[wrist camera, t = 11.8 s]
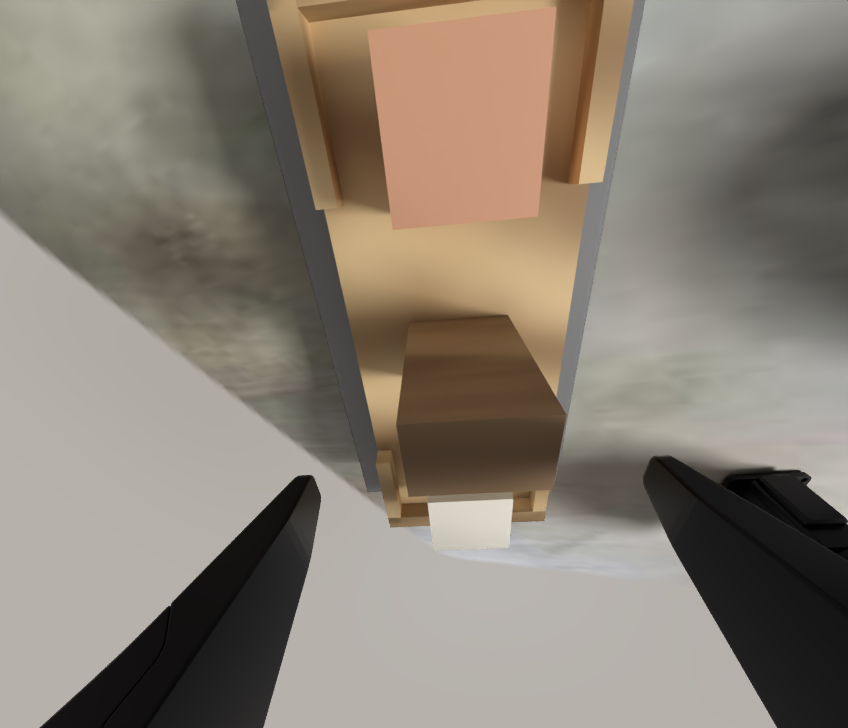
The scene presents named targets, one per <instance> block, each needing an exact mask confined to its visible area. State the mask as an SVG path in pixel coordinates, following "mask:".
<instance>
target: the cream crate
mask: <svg viewBox="0 0 848 728" xmlns="http://www.w3.org/2000/svg"><path fill="white" fill-rule="evenodd" d="M427 503H428V511H429V519H430V527H431V536H432V544H433V550H434V551H435V550H461V549H488V548H509V542H510V531H511V520H512V509H513V496H512V492H502V493H481V494H460V495H440V496H427Z"/></svg>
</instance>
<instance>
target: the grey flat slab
mask: <svg viewBox="0 0 848 728" xmlns="http://www.w3.org/2000/svg"><path fill="white" fill-rule="evenodd" d="M236 3H237V7H238V11H239V15H240V18H241V22H242V26H243V29H244V33H245V37H246V41H247V44H248V48H249V52H250V55H251V59H252V63H253V67H254V70H255V74H256V78H257V82H258V85H259V89H260V93H261V96H262V100H263V104H264V108H265V111H266V115H267V119H268V122H269V126H270V130H271V134H272V137H273V141H274V145H275V148H276V152H277V156H278V160H279V163H280V167H281V171H282V175H283V178H284V182H285V186H286V189H287V193H288V197H289V201H290V204H291V208H292V212H293V215H294V219H295V223H296V227H297V230H298V234H299V238H300V241H301V245H302V249H303V253H304V256H305V260H306V264H307V268H308V271H309V275H310V279H311V282H312V286H313V290H314V294H315V297H316V301H317V305H318V308H319V312H320V316H321V320H322V323H323V327H324V331H325V334H326V338H327V342H328V346H329V349H330V353H331V357H332V361H333V364H334V368H335V372H336V375H337V379H338V383H339V387H340V390H341V394H342V398H343V401H344V405H345V409H346V413H347V416H348V420H349V424H350V427H351V431H352V435H353V439H354V442H355V446H356V450H357V454H358V457H359V461H360V465H361V468H362V472H363V476H364V480H365V483H366V487H367V491H368V492H378V491H382V489H381V485H380V481H379V476H378V472H377V468H376V459H377V454H378V449H377V444H376V440H375V435H374V431H373V426H372V422H371V417H370V413H369V408H368V404H367V399H366V395H365V390H364V386H363V381H362V377H361V372H360V368H359V364H358V359H357V355H356V350H355V346H354V341H353V337H352V332H351V328H350V323H349V319H348V314H347V310H346V305H345V301H344V296H343V292H342V287H341V283H340V278H339V274H338V269H337V265H336V260H335V256H334V252H333V247H332V243H331V238H330V234H329V229H328V225H327V220H326V216H325V211H324V209H321V210H316V209H315V204H314V200H313V196H312V192H311V188H310V183H309V179H308V175H307V171H306V166H305V162H304V158H303V154H302V149H301V145H300V141H299V137H298V132H297V128H296V124H295V120H294V115H293V111H292V107H291V103H290V98H289V94H288V90H287V86H286V81H285V77H284V73H283V69H282V64H281V60H280V56H279V52H278V47H277V43H276V39H275V35H274V30H273V26H272V22H271V18H270V13H269V9H268V5H267V1H266V0H236ZM644 4H645V0H634V4H633V10H632V16H631V21H630V27H629V33H628V39H627V44H626V50H625V56H624V62H623V68H622V73H621V79H620V85H619V91H618V97H617V102H616V108H615V114H614V120H613V125H612V131H611V137H610V143H609V149H608V154H607V160H606V166H605V172H604V177H603V182H597V183H589V190H588V196H587V202H586V209H585V215H584V222H583V228H582V235H581V241H580V248H579V254H578V261H577V267H576V274H575V280H574V286H573V293H572V299H571V306H570V312H569V319H568V325H567V332H566V338H565V345H564V351H563V357H562V364H561V370H560V377H559V383H558V390H557V396H556V397H557V399H558V401H559V403H560V404H561V406H562V408H563V409H564V411H565V413H566V414H567V415H566V421H565V426H564V432H563V437H562V443H561V448H560V454H559V459H558V465H557V470H556V476H555V481H554V483H555V482H556V477H557V472H558V466H559V461H560V455H561V450H562V445H563V439H564V434H565V429H566V423H567V418H568V412H569V407H570V402H571V396H572V391H573V386H574V380H575V375H576V369H577V364H578V359H579V353H580V348H581V343H582V337H583V332H584V326H585V321H586V316H587V310H588V305H589V299H590V294H591V289H592V283H593V278H594V273H595V267H596V262H597V256H598V251H599V246H600V240H601V235H602V230H603V224H604V219H605V213H606V208H607V203H608V197H609V192H610V187H611V181H612V176H613V170H614V165H615V160H616V154H617V149H618V144H619V138H620V133H621V127H622V122H623V117H624V111H625V106H626V101H627V95H628V90H629V84H630V79H631V74H632V68H633V63H634V58H635V52H636V47H637V41H638V36H639V31H640V25H641V20H642V15H643V9H644Z"/></svg>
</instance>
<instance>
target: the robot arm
mask: <svg viewBox="0 0 848 728" xmlns="http://www.w3.org/2000/svg"><path fill="white" fill-rule="evenodd" d="M810 480H811V477H810V476H809V475H808V474H807V473H805V472H795V473H774V474H754V475H734V476H730V477H728V478H726V479H725V481H724V483H723V484H722V486H721V485H719V484H718V483H716V482H714V481H713V480H711V479H709V478H708V477H706V476H704V475H703V474H701V473H699V472H698V471H696V470H694V469H692V468H691V467H689V466H687V465H686V464H684V463H682V462H681V461H679V460H677V459H676V458H674V457H672V456H653V457H652V458H651V459H650V461H649V463H648V466H647V468H646V471H645V474H644V476H643V483H644V486H645V489H646V491H647V493H648V495H649V497H650V500H651V502H652V504H653V506H654V508H655V511H656V513H657V515H658V517H659V519H660V521H661V524H662V526H663V528H664V530H665V532H666V534H667V537H668V539H669V541H670V543H671V545H672V547H673V548H674V550H675V552H676V554H677V556H678V557H679V559H680V561H681V563H682V564H683V566H684V568H685V569H686V571H687V573H688V575H689V576H690V578H691V580H692V582H693V583H694V585H695V587H696V588H697V590H698V592H699V594H700V595H701V597H702V599H703V600H704V602H705V604H706V606H707V607H708V609H709V611H710V613H711V614H712V616H713V618H714V619H715V621H716V623H717V624H718V626H719V628H720V630H721V631H722V633H723V635H724V637H725V638H726V640H727V642H728V644H729V645H730V647H731V648H732V650H733V652H734V654H735V656H736V658H737V659H738V661H739V662H740V664H741V666H742V668H743V670H744V671H745V673H746V675H747V677H748V678H749V680H750V682H751V683H752V685H753V687H754V688H755V690H756V692H757V694H758V696H759V697H760V699H761V701H762V702H763V704H764V706H765V708H766V709H767V711H768V713H769V714H770V716H771V718H772V720H773V721H774V723H775V725H776V726H777V728H848V525H847V523H848V520H847V519H846V518H845V517H844V516H843V515H842V514H840V513H839V512H838V511H837V510H835V509H834V508H833V507H832V506H830V505H829V504H828V503H827V502H826V501H824V500H823V499H822V498H821V497H819V496H818V495H817V494H816V493H814V492H813V491H812V490H811V489H810V488H808V487H807V486H806V485H807V484H808V483H809V481H810ZM320 502H321V495H320V492H319V489H318V487H317V484H316V481H315V479H314V477H313V476H311V475H302V476H297V477H296V478H294V480H292V481H291V482H290V483H289V484H288V486H286V487H285V488H284V490H282V491H281V493H279V494H278V496H277V497H276V498H275V499H274V500H273V501H272V502H271V503H270V504H269V505H268V506H267V507H266V508H265V509H264V510H263V511H262V512H261V513H260V514H259V515H258V516H257V517H256V518H255V519H254V520H253V521H252V522H251V523H250V524H249V525H248V526H247V527H246V528H245V529H244V530H243V531H242V532H241V533H240V534H239V535H238V536H237V537H236V538H235V539H234V540H233V541H232V542H231V544H229V545H228V546H227V547H226V548H225V549H224V550H223V551H222V552H221V553H220V554H219V555H218V556H217V557H216V558H215V559H214V560H213V561H212V562H211V563H210V564H209V565H208V566H207V568H205V569H204V571H202V573H201V574H200V575H199V576H198V577H197V578H196V579H195V580H194V581H193V582H192V583H191V584H190V585H189V586H188V587H187V588H186V589H185V590H184V591H183V592H182V593H181V594H180V595H179V596H178V597H177V598H176V599H175V600H174V601H173V602H172V603H171V606H168V607H167V608H166V609H165V610H164V611H163V612H162V613H161V614H160V615H159V616H158V617H157V618H156V619H155V620H154V621H153V622H152V623H151V624H150V625H149V626H148V627H147V628H146V629H145V630H144V631H143V632H142V633H141V634H140V635H139V636H138V637H137V638H136V639H135V640H134V641H133V642H132V643H131V644H130V645H129V646H128V647H127V648H126V649H125V650H124V651H123V652H122V653H121V654H119V655H118V656H117V657H116V658H115V659H114V660H113V661H112V662H111V663H110V664H109V665H108V666H107V667H105V669H103V670H102V671H101V672H100V673H99V674H98V675H97V676H96V677H95V678H94V679H93V680H92V681H90V682H89V683H88V684H87V685H86V686H85V687H84V688H83V689H82V690H81V691H80V692H79V693H77V694H76V695H75V696H74V697H73V698H72V699H71V700H70V701H69V702H67V703H66V704H65V705H64V706H63V707H62V708H61V709H60V710H59V711H58V712H56V713H55V714H54V715H53V716H52V717H51V718H50V719H49V720H48V721H47V722H46V723H44V724H43V725H42V726H41V727H40V728H263V726H264V723H265V720H266V716H267V712H268V709H269V705H270V702H271V698H272V695H273V691H274V688H275V684H276V681H277V677H278V674H279V670H280V666H281V663H282V659H283V656H284V652H285V649H286V645H287V642H288V638H289V635H290V631H291V628H292V624H293V620H294V617H295V613H296V609H297V606H298V603H299V599H300V596H301V592H302V589H303V585H304V582H305V578H306V574H307V571H308V567H309V563H310V559H311V554H312V548H313V543H314V537H315V532H316V526H317V520H318V515H319V509H320Z"/></svg>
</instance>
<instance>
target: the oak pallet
mask: <svg viewBox="0 0 848 728" xmlns="http://www.w3.org/2000/svg"><path fill="white" fill-rule="evenodd" d="M266 1H267V5H268V9H269V13H270V18H271V22H272V26H273V30H274V35H275V39H276V43H277V47H278V52H279V56H280V60H281V64H282V69H283V73H284V77H285V81H286V86H287V90H288V94H289V98H290V103H291V107H292V111H293V115H294V120H295V124H296V128H297V132H298V137H299V141H300V145H301V149H302V154H303V158H304V162H305V166H306V171H307V175H308V179H309V183H310V188H311V192H312V196H313V200H314V204H315V209H316V210H321V209H324V211H325V216H326V220H327V225H328V229H329V234H330V238H331V243H332V247H333V252H334V256H335V260H336V265H337V269H338V274H339V278H340V283H341V287H342V292H343V296H344V301H345V305H346V310H347V314H348V319H349V323H350V328H351V332H352V337H353V341H354V346H355V350H356V355H357V359H358V364H359V368H360V372H361V377H362V381H363V386H364V390H365V395H366V399H367V404H368V408H369V413H370V417H371V422H372V426H373V431H374V435H375V440H376V444H377V449H378V454H377V459H376V468H377V472H378V476H379V481H380V485H381V489H382V493H383V498H384V502H385V506H386V510H387V515H388V519H389V523H390V527H412V526H430V519H429V511H428V503H427V496H440V495H460V494H481V493H502V492H512V496H513V509H512V520H511V522H528V521H544V518H545V513H546V507H547V501H548V495H549V490H553V487H554V481H555V476H556V470H557V465H558V459H559V454H560V448H561V443H562V437H563V432H564V426H565V421H566V415H567V414H566V413H565V411H564V409H563V408H562V406H561V404H560V403H559V401H558V399H557V397H556V396H557V390H558V383H559V377H560V370H561V364H562V357H563V351H564V345H565V338H566V332H567V325H568V319H569V312H570V306H571V299H572V293H573V286H574V280H575V274H576V267H577V261H578V254H579V248H580V241H581V235H582V228H583V222H584V215H585V209H586V202H587V196H588V190H589V183H597V182H603V177H604V172H605V166H606V160H607V154H608V149H609V143H610V137H611V131H612V125H613V120H614V114H615V108H616V102H617V97H618V91H619V85H620V79H621V73H622V68H623V62H624V56H625V50H626V44H627V39H628V33H629V27H630V21H631V16H632V10H633V4H634V0H266ZM549 7H556V18H555V29H554V41H553V52H552V63H551V75H550V86H549V98H548V109H547V120H546V132H545V143H544V155H543V166H542V177H541V189H540V200H539V212H538V217H528V218H518V219H507V220H496V221H485V222H475V223H464V224H453V225H442V226H431V227H421V228H410V229H399V230H393V229H392V222H391V214H390V206H389V198H388V190H387V182H386V174H385V167H384V159H383V151H382V143H381V135H380V127H379V120H378V112H377V104H376V96H375V88H374V80H373V73H372V65H371V57H370V49H369V41H368V33H367V30H375V29H383V28H391V27H399V26H407V25H415V24H423V23H430V22H438V21H446V20H454V19H462V18H470V17H478V16H486V15H494V14H501V13H509V12H517V11H525V10H533V9H541V8H549Z"/></svg>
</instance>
